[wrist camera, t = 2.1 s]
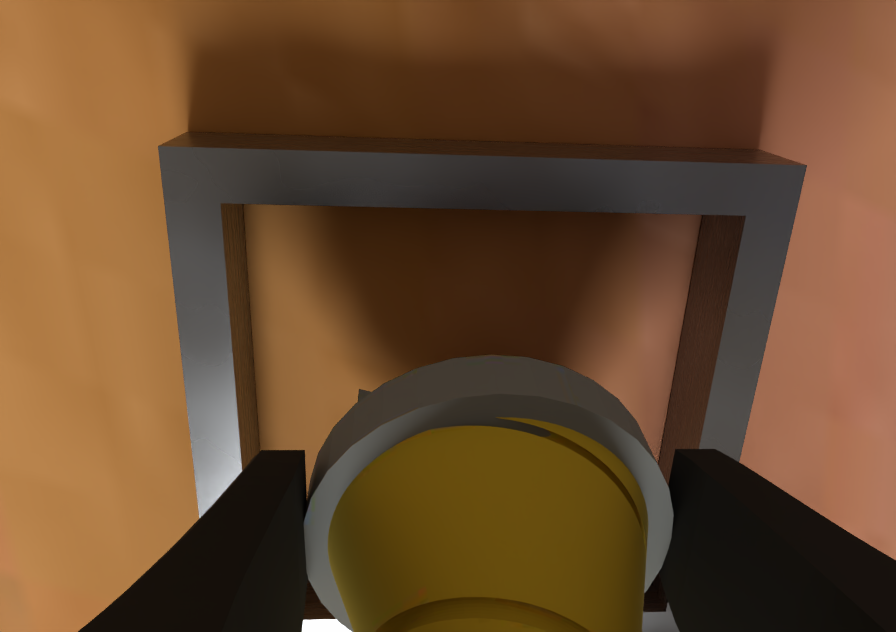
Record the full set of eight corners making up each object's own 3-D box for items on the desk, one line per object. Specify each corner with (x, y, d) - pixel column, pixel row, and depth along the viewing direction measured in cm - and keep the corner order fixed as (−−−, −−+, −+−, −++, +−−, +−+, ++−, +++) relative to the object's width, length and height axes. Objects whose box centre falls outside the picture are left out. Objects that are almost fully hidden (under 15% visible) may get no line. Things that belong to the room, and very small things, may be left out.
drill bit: (430, 213, 12) (520, 1047, 3) (664, 361, 13) (1167, 1174, 5) (275, 431, 14) (44, 1335, 5) (495, 537, 15) (624, 1349, 7)
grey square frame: (759, 149, 12) (807, 165, 11) (671, 587, 16) (698, 641, 14) (186, 131, 11) (157, 145, 10) (231, 595, 15) (214, 653, 14)
